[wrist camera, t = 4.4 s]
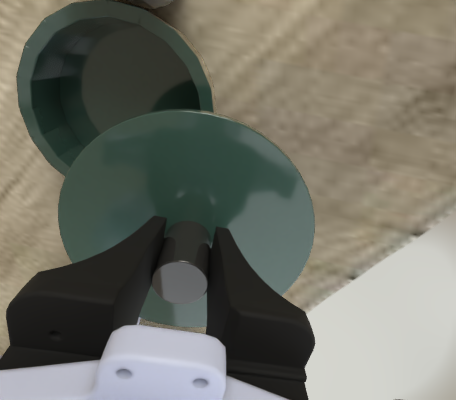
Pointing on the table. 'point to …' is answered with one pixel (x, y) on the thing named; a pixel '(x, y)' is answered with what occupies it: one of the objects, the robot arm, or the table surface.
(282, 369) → the robot arm
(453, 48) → the table surface
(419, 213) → the table surface
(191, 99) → the pot
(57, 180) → the table surface
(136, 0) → the gray cylindrical cup
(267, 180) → the pot lid
